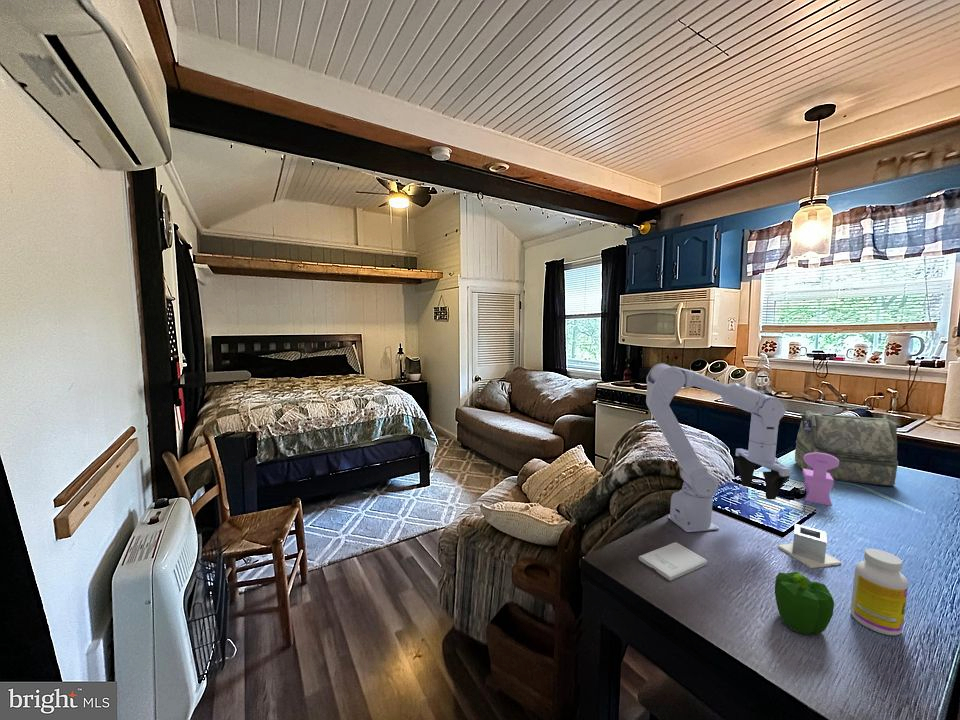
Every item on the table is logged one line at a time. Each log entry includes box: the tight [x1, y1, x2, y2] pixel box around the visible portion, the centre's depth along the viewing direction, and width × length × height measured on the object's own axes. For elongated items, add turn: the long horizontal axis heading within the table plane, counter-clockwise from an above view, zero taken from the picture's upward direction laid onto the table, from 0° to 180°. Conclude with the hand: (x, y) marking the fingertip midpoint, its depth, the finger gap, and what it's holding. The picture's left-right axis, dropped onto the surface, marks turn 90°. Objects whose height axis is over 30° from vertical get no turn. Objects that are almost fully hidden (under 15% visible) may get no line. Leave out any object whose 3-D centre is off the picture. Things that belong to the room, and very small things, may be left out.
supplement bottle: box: [850, 548, 909, 636], centre depth 70 cm, size 7×7×13 cm
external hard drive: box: [638, 541, 709, 582], centre depth 88 cm, size 2×8×12 cm
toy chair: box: [802, 452, 839, 506], centre depth 120 cm, size 8×9×15 cm
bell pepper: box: [774, 571, 835, 635], centre depth 70 cm, size 8×8×10 cm
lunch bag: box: [794, 410, 899, 486], centre depth 137 cm, size 26×18×22 cm
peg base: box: [777, 534, 842, 569], centre depth 90 cm, size 8×8×5 cm
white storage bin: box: [792, 523, 828, 563], centre depth 90 cm, size 6×6×5 cm
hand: (758, 492), depth 101 cm, fingers open, 7 cm apart
